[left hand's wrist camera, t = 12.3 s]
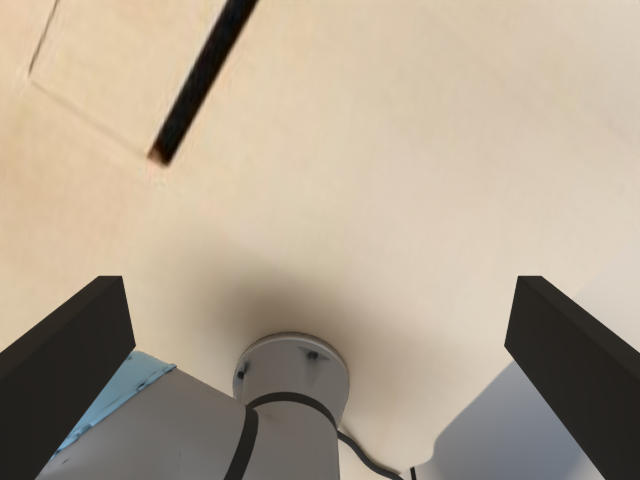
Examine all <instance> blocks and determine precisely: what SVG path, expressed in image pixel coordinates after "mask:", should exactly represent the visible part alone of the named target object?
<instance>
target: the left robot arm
mask: <svg viewBox="0 0 640 480" xmlns="http://www.w3.org/2000/svg"><path fill="white" fill-rule="evenodd" d="M135 346H136V344H135V339H134V334H133V329H132V324H131V319H130V314H129V309H128V304H127V299H126V294H125V289H124V284H123V279H122V276H98V277H97V278H95V279H94V280H93V281H92V282H90V283H89V284H88V285H86V286H85V287H84V288H83V289H81V290H80V291H79V292H78V293H76V294H75V295H74V296H72V297H71V298H70V299H69V300H67V301H66V302H65V303H63V304H62V305H61V306H60V307H58V308H57V309H56V310H55V311H53V312H52V313H51V314H49V315H48V316H47V317H46V318H44V319H43V320H42V321H40V322H39V323H38V324H37V325H35V326H34V327H33V328H32V329H30V330H29V331H28V332H26V333H25V334H24V335H23V336H21V337H20V338H19V339H18V340H16V341H15V342H14V343H12V344H11V345H10V346H9V347H7V348H6V349H5V350H3V351H2V352H1V353H0V480H340V470H339V454H338V439H340V440H342V441H343V442H345V443H346V444H348V445H349V446H350V447H351V448H352V449H353V450H354V451H355V453H356V454H357V455H358V457H359V458H360V459H361V460H362V462H363V463H364V464H365V465H366V466H367V467H369V468H370V469H371V470H372V471H374V472H376V473H378V474H380V475H382V476H385V477H387V478H390V479H392V480H403V479H402V478H401V477H400V476H398V475H396V474H394V473H392V472H390V471H387V470H385V469H382V468H380V467H378V466H376V465H375V464H373V463H372V462H371V461H370V460H369V459H368V458H367V457H366V456H365V455H364V453H363V452H362V451H361V449H360V448H359V447H358V446H357V444H356V443H355V442H354V441H352V440H351V439H350V438H349V437H347V436H346V435H344V434H343V433H341V432H340V431H338V430H337V428H338V426H339V423H340V420H341V417H342V414H343V411H344V408H345V405H346V403H347V399H348V394H349V379H348V372H347V368H346V365H345V363H344V361H343V359H342V358H341V356H340V355H339V353H338V352H337V351H336V350H335V349H334V348H333V347H331V346H330V345H329V344H327V343H326V342H324V341H322V340H321V339H318V338H316V337H313V336H311V335H307V334H302V333H292V332H287V333H278V334H274V335H270V336H267V337H265V338H262V339H260V340H258V341H257V342H255V343H254V344H252V345H251V346H250V347H249V348H248V349H247V350H246V351H245V352H244V353H243V355H242V356H241V358H240V360H239V362H238V364H237V367H236V370H235V374H234V378H233V396H234V398H232V397H230V396H228V395H226V394H224V393H222V392H220V391H219V390H217V389H215V388H213V387H211V386H209V385H207V384H205V383H204V382H202V381H200V380H198V379H196V378H194V377H192V376H190V375H189V374H187V373H185V372H183V371H181V370H179V369H177V368H176V367H177V366H176V365H175V364H167V363H165V362H163V361H161V360H159V359H157V358H155V357H152V356H150V355H148V354H146V353H144V352H141V351H132V350H133V349H134V348H135ZM504 346H505V348H506V349H507V350H508V352H509V353H510V354H511V356H512V357H513V358H514V360H515V361H516V362H517V364H518V365H519V366H520V368H521V369H522V370H523V372H524V373H525V374H526V376H527V377H528V378H529V380H530V381H531V382H532V383H533V385H534V386H535V387H536V389H537V390H538V391H539V393H540V394H541V395H542V397H543V398H544V399H545V401H546V402H547V403H548V405H549V406H550V407H551V408H552V410H553V411H554V413H555V414H556V415H557V416H558V418H559V419H560V420H561V422H562V423H563V424H564V426H565V427H566V428H567V430H568V431H569V432H570V434H571V435H572V436H573V438H574V439H575V440H576V442H577V443H578V444H579V446H580V447H581V448H582V450H583V451H584V452H585V453H586V455H587V456H588V457H589V459H590V460H591V461H592V463H593V464H594V465H595V467H596V468H597V469H598V471H599V472H600V473H601V475H602V476H603V477H604V479H605V480H640V353H639V352H638V351H636V350H635V349H634V348H633V347H631V346H630V345H629V344H628V343H626V342H625V341H624V340H622V339H621V338H620V337H619V336H617V335H616V334H615V333H614V332H612V331H611V330H610V329H608V328H607V327H606V326H605V325H603V324H602V323H601V322H600V321H598V320H597V319H596V318H594V317H593V316H592V315H590V314H589V313H588V312H587V311H585V310H584V309H583V308H582V307H580V306H579V305H578V304H577V303H575V302H574V301H573V300H571V299H570V298H569V297H568V296H566V295H565V294H564V293H562V292H561V291H560V290H559V289H557V288H556V287H555V286H554V285H552V284H551V283H550V282H548V281H547V280H546V279H545V278H543V277H542V276H518V279H517V284H516V289H515V294H514V299H513V304H512V309H511V314H510V319H509V324H508V329H507V334H506V339H505V344H504ZM410 472H411V479H412V480H417V478H416V473H415V467H414V466H413V467H411V468H410Z"/></svg>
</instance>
